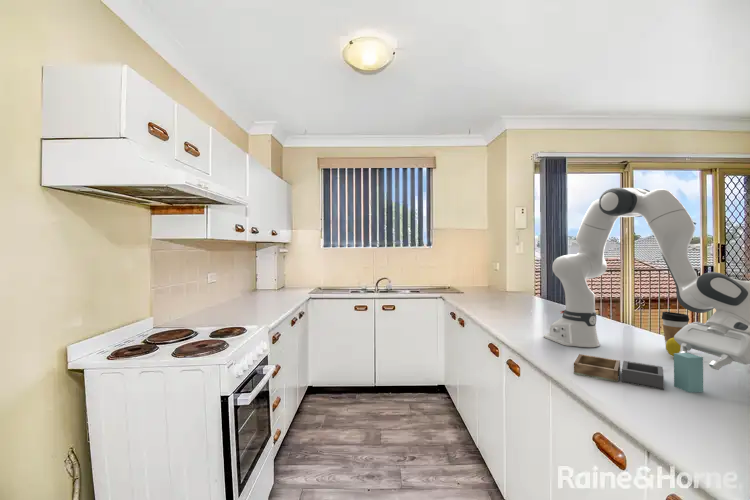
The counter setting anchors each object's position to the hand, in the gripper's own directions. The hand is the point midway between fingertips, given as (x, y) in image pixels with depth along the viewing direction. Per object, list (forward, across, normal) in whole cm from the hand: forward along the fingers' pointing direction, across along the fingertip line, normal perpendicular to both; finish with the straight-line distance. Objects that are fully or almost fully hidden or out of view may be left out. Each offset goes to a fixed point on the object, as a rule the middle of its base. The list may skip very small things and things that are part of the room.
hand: (696, 362), depth 101 cm
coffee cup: (-14, -35, +25) cm, 45 cm away
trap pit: (+13, -7, -2) cm, 15 cm away
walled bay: (+19, -15, -8) cm, 26 cm away
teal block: (+7, 0, +4) cm, 8 cm away
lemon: (-8, -26, +19) cm, 33 cm away
